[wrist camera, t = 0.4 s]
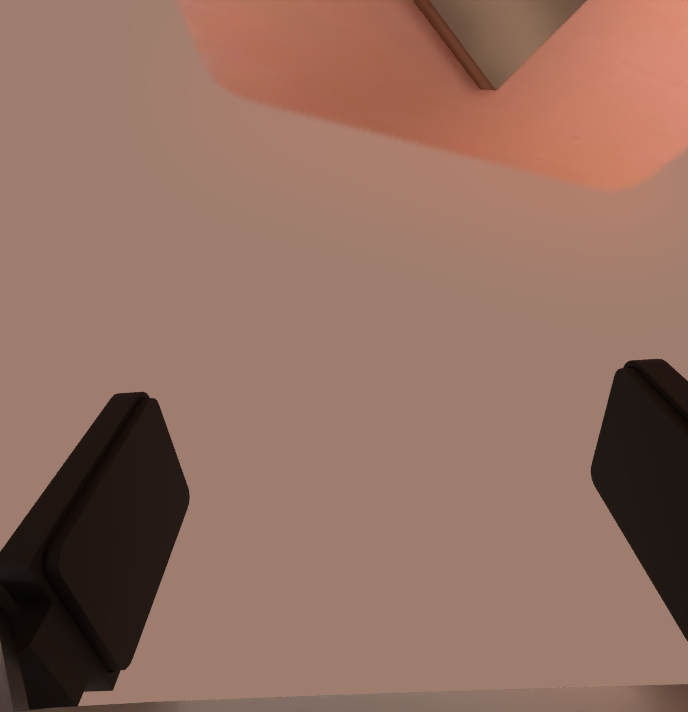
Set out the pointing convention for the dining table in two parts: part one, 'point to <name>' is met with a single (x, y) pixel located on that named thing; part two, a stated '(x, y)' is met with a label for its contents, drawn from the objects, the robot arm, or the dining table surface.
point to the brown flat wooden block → (496, 32)
